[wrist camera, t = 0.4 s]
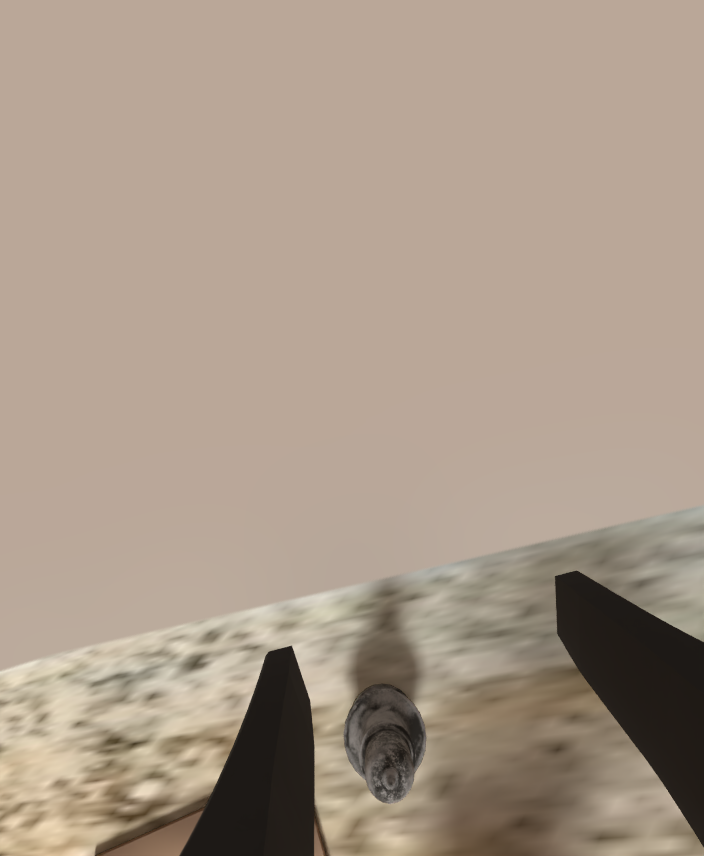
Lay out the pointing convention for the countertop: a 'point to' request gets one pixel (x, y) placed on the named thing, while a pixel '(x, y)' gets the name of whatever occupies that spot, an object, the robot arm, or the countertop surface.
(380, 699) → the dark grey turned piece
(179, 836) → the walnut board
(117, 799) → the countertop surface
